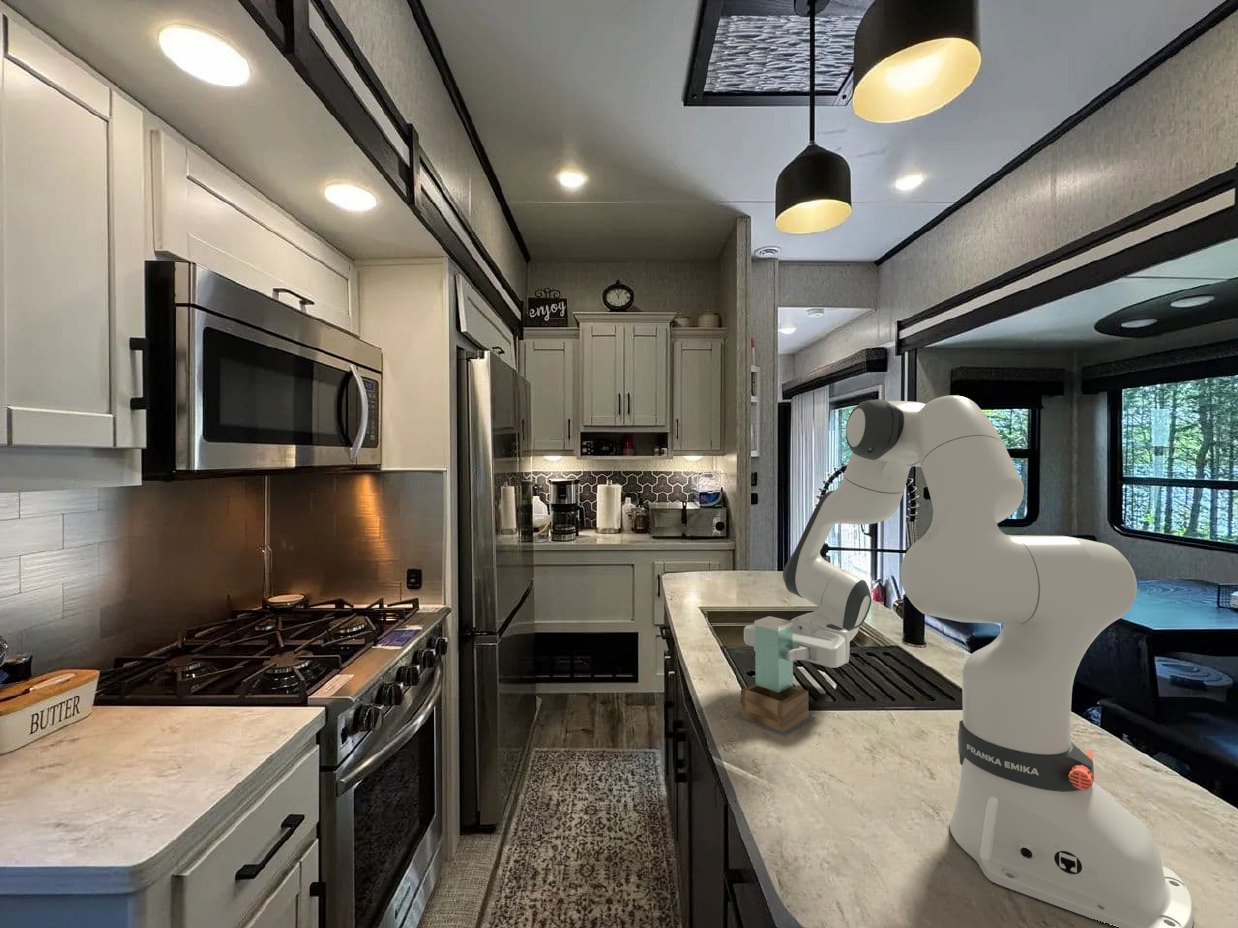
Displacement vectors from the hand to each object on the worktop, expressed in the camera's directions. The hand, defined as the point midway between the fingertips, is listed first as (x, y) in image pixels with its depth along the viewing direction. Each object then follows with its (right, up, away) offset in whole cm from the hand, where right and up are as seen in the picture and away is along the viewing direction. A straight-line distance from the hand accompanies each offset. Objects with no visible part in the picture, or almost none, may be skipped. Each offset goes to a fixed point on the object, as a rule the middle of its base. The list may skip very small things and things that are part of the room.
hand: (771, 652), depth 104 cm
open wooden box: (+1, -12, 0) cm, 12 cm away
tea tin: (+1, -7, +1) cm, 7 cm away
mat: (+1, -13, 0) cm, 13 cm away
